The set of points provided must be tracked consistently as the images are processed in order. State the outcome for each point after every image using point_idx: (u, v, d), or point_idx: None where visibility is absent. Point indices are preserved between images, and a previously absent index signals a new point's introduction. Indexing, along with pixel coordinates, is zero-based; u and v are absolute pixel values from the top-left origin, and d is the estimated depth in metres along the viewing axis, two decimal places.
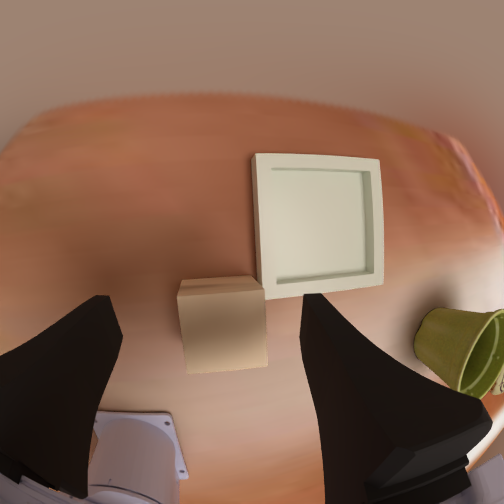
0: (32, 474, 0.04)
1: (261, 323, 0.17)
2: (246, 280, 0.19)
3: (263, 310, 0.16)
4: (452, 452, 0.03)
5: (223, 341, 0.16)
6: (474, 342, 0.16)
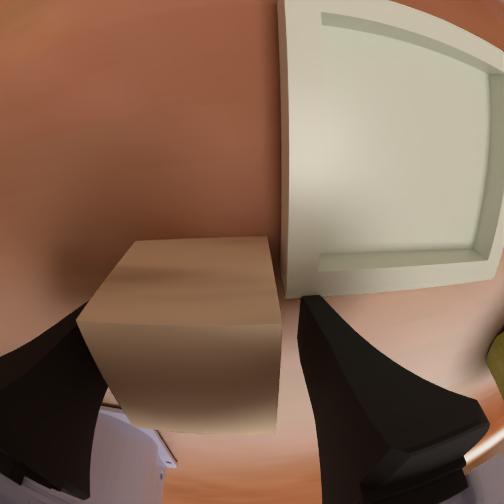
0: (34, 475, 0.04)
1: (268, 383, 0.07)
2: (252, 260, 0.09)
3: (275, 362, 0.07)
4: (449, 454, 0.03)
5: (187, 401, 0.07)
6: None
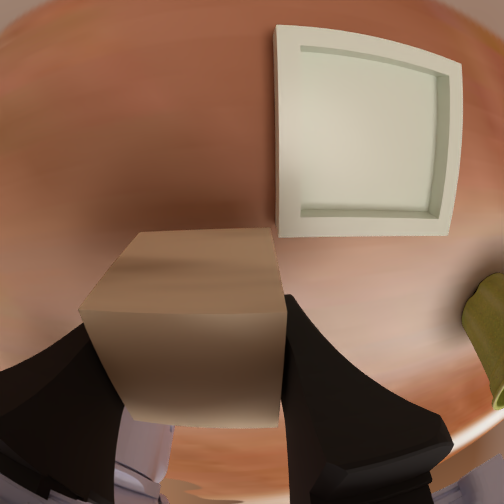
0: (60, 487, 0.04)
1: (271, 374, 0.07)
2: (256, 252, 0.09)
3: (279, 353, 0.07)
4: (405, 471, 0.03)
5: (189, 393, 0.07)
6: None
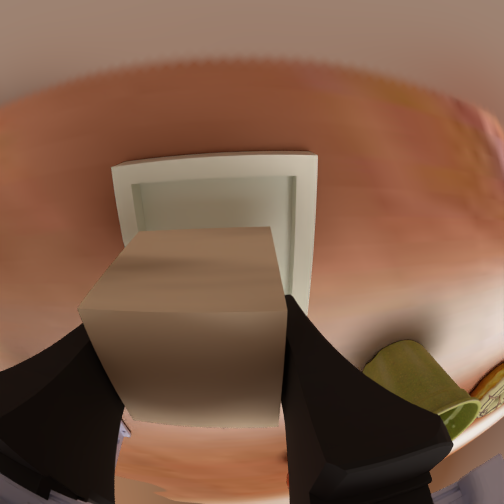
0: (61, 488, 0.04)
1: (272, 373, 0.07)
2: (255, 250, 0.09)
3: (279, 352, 0.06)
4: (404, 471, 0.03)
5: (188, 392, 0.07)
6: None
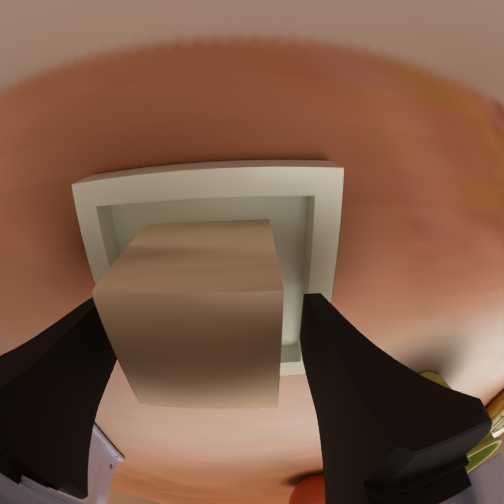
0: (32, 474, 0.04)
1: (270, 352, 0.08)
2: (255, 240, 0.09)
3: (277, 330, 0.07)
4: (452, 452, 0.03)
5: (193, 372, 0.08)
6: None
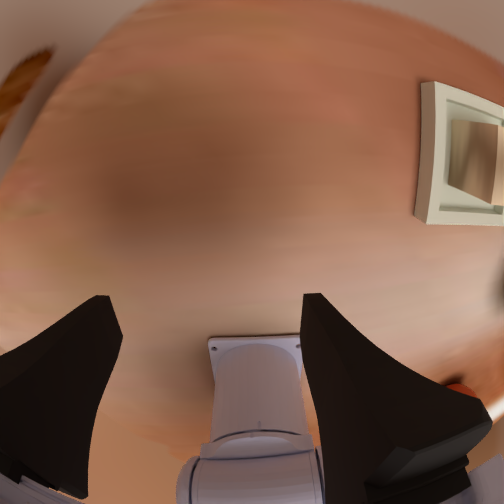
0: (32, 474, 0.04)
1: None
2: None
3: None
4: (452, 452, 0.03)
5: None
6: None
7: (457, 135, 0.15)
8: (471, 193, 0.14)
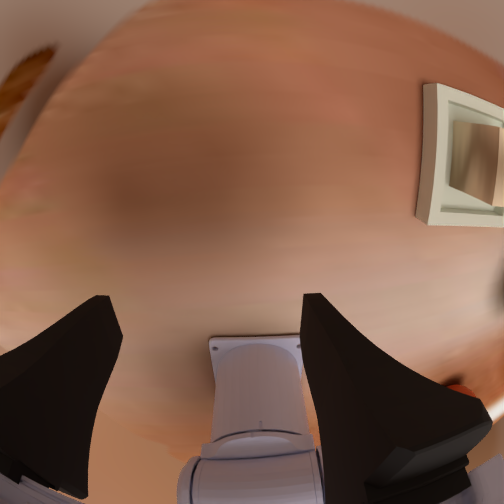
0: (32, 474, 0.04)
1: None
2: None
3: None
4: (452, 452, 0.03)
5: None
6: None
7: (459, 136, 0.15)
8: (472, 194, 0.14)
